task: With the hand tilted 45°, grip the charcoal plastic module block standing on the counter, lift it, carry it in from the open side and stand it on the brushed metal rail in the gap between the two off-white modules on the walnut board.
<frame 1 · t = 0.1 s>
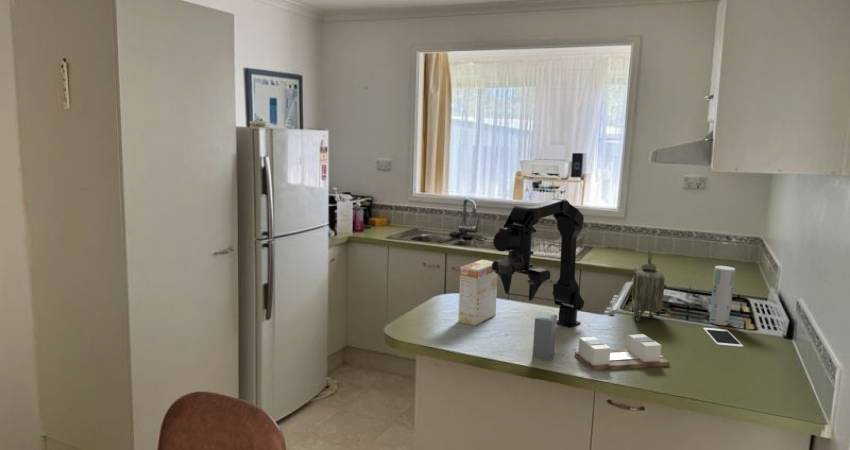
hand: (518, 297, 181), 15 cm above the worktop, tool pointing down, fingers open, 9 cm apart
cell phone: (722, 338, 194), on the worktop
module block: (543, 355, 173), on the worktop
rail board: (618, 360, 171), on the worktop
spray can: (718, 322, 209), on the worktop
mounted modules: (619, 348, 170), point 4 cm above the worktop
coffeecake box: (477, 319, 205), on the worktop
mop head: (645, 318, 211), on the worktop
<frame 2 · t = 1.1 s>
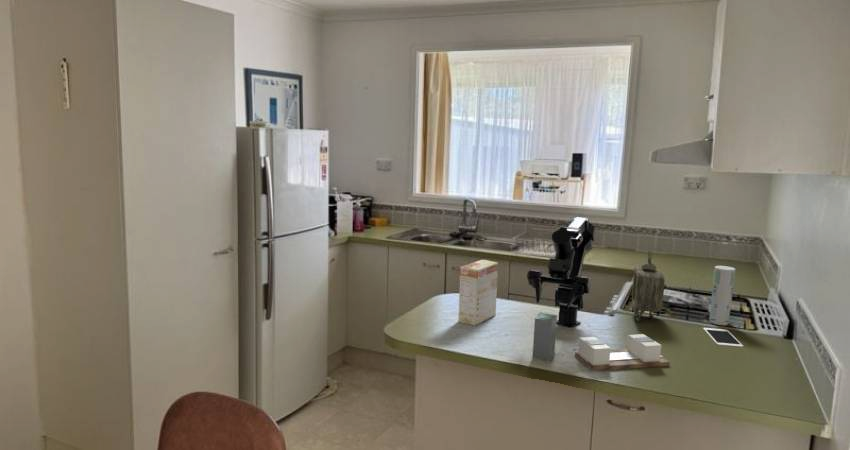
hand: (552, 304, 177), 14 cm above the worktop, tool tilted 45°, fingers open, 9 cm apart
nothing on the worktop moved.
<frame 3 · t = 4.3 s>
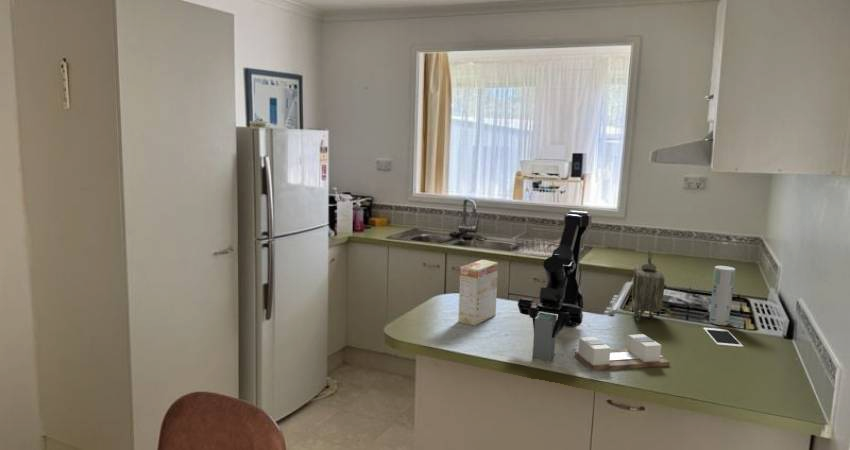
hand: (543, 335, 171), 7 cm above the worktop, tool tilted 45°, fingers closed on module block, 5 cm apart
module block: (543, 355, 173), on the worktop, touching gripper
everything else where it was.
when the fingers open (9 cm above the worktop, at t = 11.6 s): module block drops 1 cm, resting on rail board.
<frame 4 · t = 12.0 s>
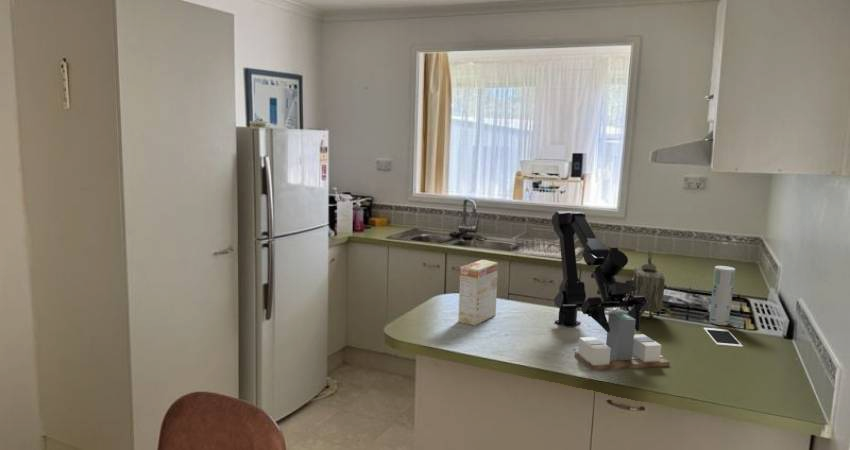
hand: (623, 331, 168), 10 cm above the worktop, tool tilted 45°, fingers open, 9 cm apart
module block: (618, 356, 170), point 1 cm above the worktop, touching rail board
everything else where it was.
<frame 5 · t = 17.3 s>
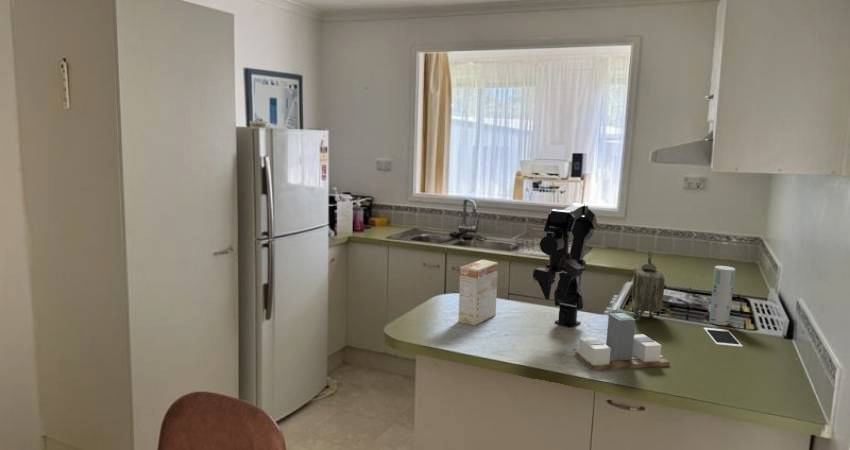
hand: (555, 296, 188), 13 cm above the worktop, tool pointing down, fingers open, 9 cm apart
nothing on the worktop moved.
at the end: module block 0.0 cm off-centre on the rail board, point 1.5 cm above the rail board's base; module block tilted 0°; the gripper is holding nothing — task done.
